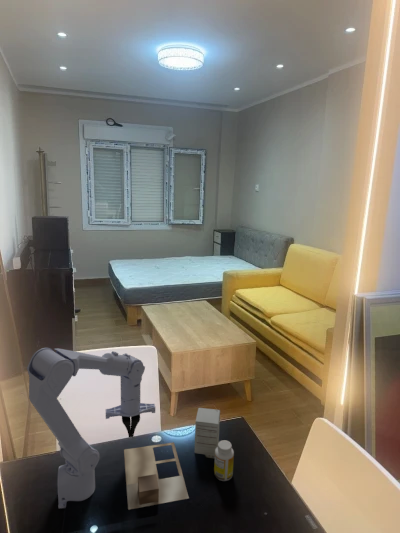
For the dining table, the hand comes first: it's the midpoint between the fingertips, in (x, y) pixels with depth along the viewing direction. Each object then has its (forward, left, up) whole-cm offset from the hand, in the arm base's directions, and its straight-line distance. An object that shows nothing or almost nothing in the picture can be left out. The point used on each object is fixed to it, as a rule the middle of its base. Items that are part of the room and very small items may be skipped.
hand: (130, 435), depth 109 cm
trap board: (+6, -8, -8) cm, 13 cm away
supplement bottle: (+26, -12, -9) cm, 30 cm away
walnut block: (+3, -16, -7) cm, 18 cm away
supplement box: (+24, -1, -9) cm, 26 cm away
